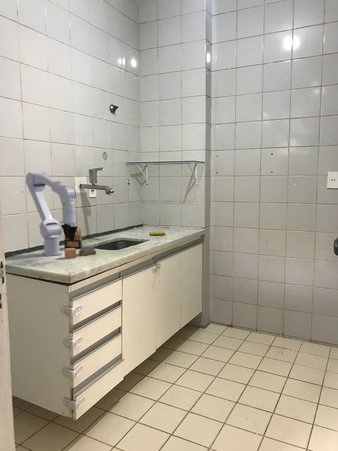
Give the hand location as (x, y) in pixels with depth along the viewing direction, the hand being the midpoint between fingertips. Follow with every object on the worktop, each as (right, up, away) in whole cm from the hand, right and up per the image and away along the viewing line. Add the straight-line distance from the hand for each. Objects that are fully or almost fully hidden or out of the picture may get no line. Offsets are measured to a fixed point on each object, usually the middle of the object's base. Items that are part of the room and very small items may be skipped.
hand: (69, 239), depth 187 cm
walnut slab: (+7, -9, +10) cm, 14 cm away
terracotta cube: (0, -9, +1) cm, 9 cm away
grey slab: (+7, -6, +9) cm, 13 cm away
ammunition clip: (-5, -6, +26) cm, 27 cm away
